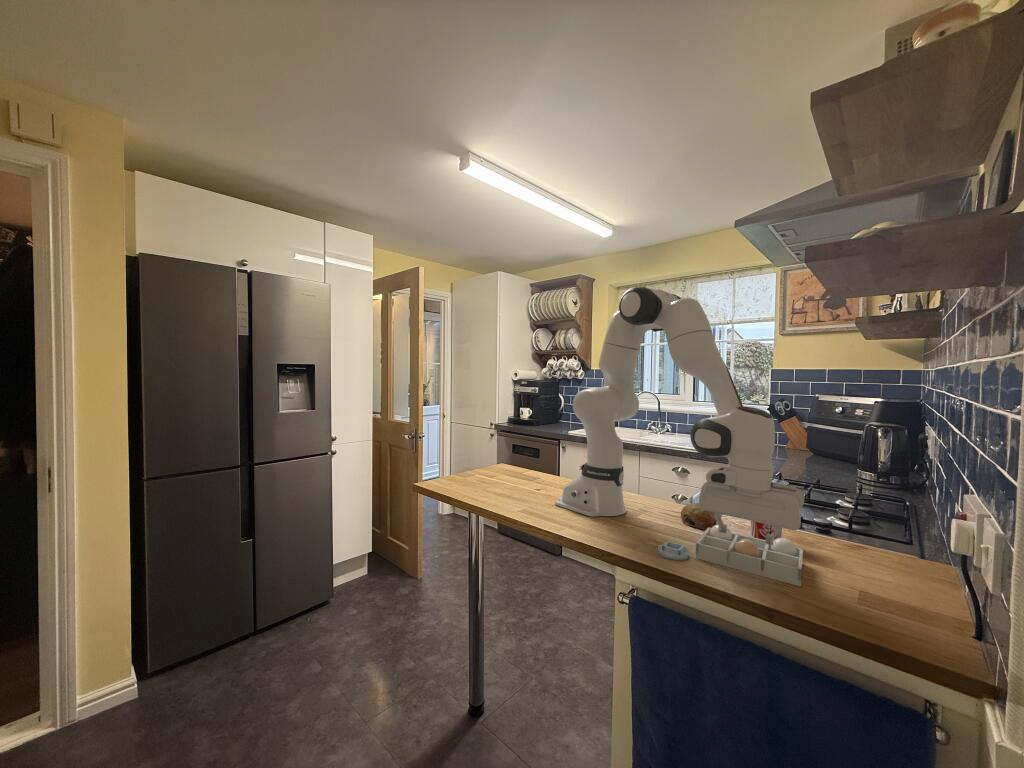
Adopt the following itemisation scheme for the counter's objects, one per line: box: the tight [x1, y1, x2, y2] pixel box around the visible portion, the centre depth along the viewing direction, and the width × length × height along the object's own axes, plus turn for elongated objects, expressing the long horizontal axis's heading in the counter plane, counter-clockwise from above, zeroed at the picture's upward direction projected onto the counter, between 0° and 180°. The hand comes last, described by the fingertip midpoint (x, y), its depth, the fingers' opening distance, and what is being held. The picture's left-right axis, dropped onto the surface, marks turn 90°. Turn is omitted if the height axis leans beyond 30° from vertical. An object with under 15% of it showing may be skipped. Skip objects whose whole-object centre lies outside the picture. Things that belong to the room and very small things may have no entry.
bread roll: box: [680, 502, 718, 530], centre depth 121 cm, size 10×10×8 cm
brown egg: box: [735, 539, 759, 558], centre depth 93 cm, size 5×5×5 cm
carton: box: [695, 527, 804, 587], centre depth 96 cm, size 20×14×4 cm
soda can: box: [750, 521, 783, 540], centre depth 109 cm, size 7×7×12 cm
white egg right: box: [771, 537, 796, 556], centre depth 95 cm, size 5×5×5 cm
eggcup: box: [657, 540, 690, 561], centre depth 99 cm, size 7×7×2 cm
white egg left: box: [710, 523, 732, 541], centre depth 103 cm, size 5×5×5 cm
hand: (745, 538), depth 94 cm, fingers open, 8 cm apart
